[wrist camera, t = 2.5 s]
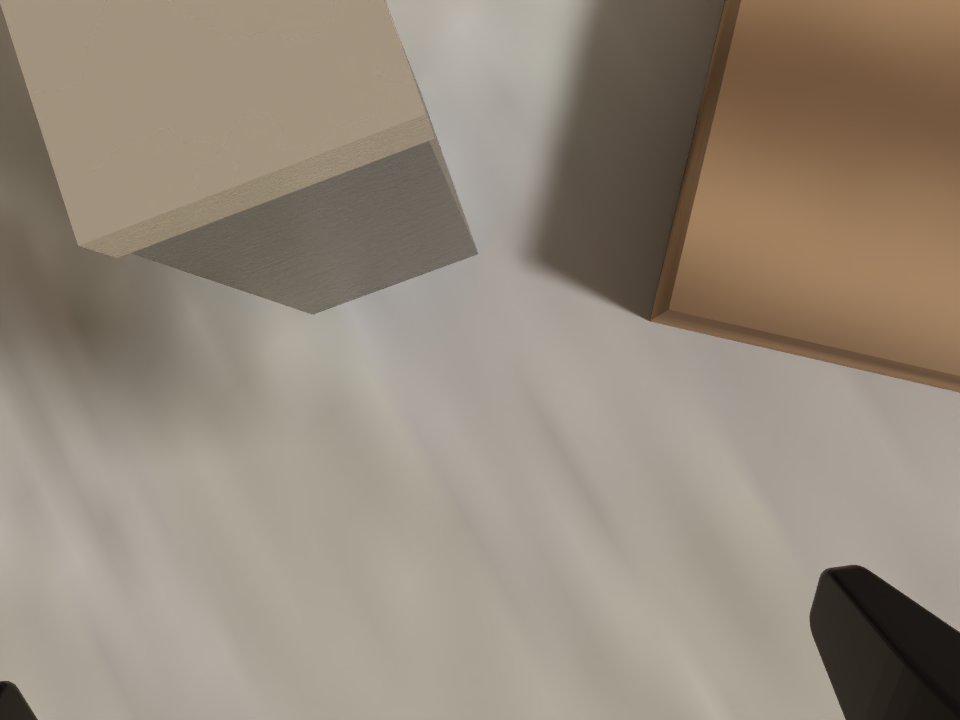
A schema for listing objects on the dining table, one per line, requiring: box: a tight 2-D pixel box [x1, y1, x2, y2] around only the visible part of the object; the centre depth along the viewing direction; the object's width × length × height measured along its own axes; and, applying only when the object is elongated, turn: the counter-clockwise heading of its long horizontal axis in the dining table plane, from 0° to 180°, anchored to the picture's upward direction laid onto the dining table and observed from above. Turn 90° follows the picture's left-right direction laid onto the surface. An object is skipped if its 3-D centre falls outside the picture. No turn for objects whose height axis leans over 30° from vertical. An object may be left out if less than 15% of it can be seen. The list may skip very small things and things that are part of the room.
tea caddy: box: [0, 0, 478, 314], centre depth 16 cm, size 5×5×11 cm
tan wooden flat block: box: [650, 0, 960, 392], centre depth 19 cm, size 11×11×3 cm
